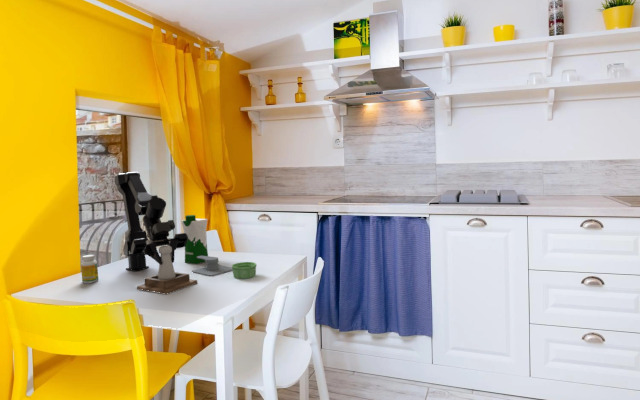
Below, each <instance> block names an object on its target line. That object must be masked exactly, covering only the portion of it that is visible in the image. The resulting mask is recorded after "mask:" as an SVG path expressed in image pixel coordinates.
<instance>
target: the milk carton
mask: <svg viewBox="0 0 640 400" xmlns="http://www.w3.org/2000/svg"><path fill="white" fill-rule="evenodd" d="M180 222H181V226H182V229H183V233H186V234H187V235H188V240H187V243H186V245H185V247H184V263H187V264H192V265H198V264H202V263H205V260H203V259H199V258H196V257H198V256H209V253H208V242H207V224H208V218H196V214H189V215H185V219H182V220H181V221H180Z"/></svg>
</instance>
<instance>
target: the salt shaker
mask: <svg viewBox="0 0 640 400" xmlns="http://www.w3.org/2000/svg"><path fill="white" fill-rule="evenodd" d="M171 252H172V247H171V246H167V245H164V246H159V247H158V253H159V256H160V258H161V261H162V265H160V264H159V263H158V264H159V265H158V272H157V274H158V279H160V280H169V279H172V278H175V276H176V275H175V272H176V271H175V268H174V267H175V266H174V263H172V260H171V255H170V253H171Z"/></svg>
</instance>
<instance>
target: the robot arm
mask: <svg viewBox="0 0 640 400" xmlns="http://www.w3.org/2000/svg"><path fill="white" fill-rule="evenodd" d="M114 184H115V186H116V189H117V191H118V192H119V193H120V194H121V196H122V199H123V204H124V210H125V217H126V222H127V229H128V232H127V233H126V236H125V242H124V246H123V249H122V250H123V255H124V256H126V257H128V258H127V260H128V267H126V268H125V270H126V271H133V272H139V271H142V270H146V269H148V268H150V266H149V265H147V259H146V256H149V257H150V258H151V259H153V260H154V261H155V262H156V263H157V264H160V265H162V261H161V258H160V256H161V255H160V253H159V250H158V249H157V247H161V246H171V247H172V252H171V253H170V255H171V260H172V264H174V263H175V251H176V250H177V249H181V248H185V245H186V243H187V240H188V235H187V234H186V233H184V232H180V233H175V234H174V236H173V237H172V238H168V237H169V236H170V233H169V232H171V231H174V230H175V229H176V224H175V221H174V220H173V219H169V220H167V221H163V222H162V221H161V218H163V216H164V213H165V210H166V207H167V202H166V201H165V199H163V198H161V197H159V196H158V195H157V194H155V195H151V194H150V193H148V192H147V189H146V187H145V185H144V183H143V181H142V179H141V175H140V172H138V171H130V172H129V171H128V172H126V173H123V172H122V173H118V174H117V175H116V176H114ZM140 216H143V217H142V222H143V223H142V224H143V226H144V228H145V230H144V229H143V228H142V227H141V221H140Z"/></svg>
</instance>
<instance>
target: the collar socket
mask: <svg viewBox="0 0 640 400" xmlns="http://www.w3.org/2000/svg"><path fill="white" fill-rule="evenodd" d="M175 275H176V276H175V278H172V279H169V280H160V279H158V273H157V274H155V275H151V276H148V277H145V278H144V280H143V281H144V284H140V285H137V286H136V289H137V290H138V289H143V290H142V291H144V290H149V291H148V292H150V291H155V292H154V293H156V292H160V293H159V294H162V293H165V294H164V295H168V294H167V293H169V294H171V293H173V291H174V292H177V291H178V290H179V289H180V290H182V289H184V288H189V287H190V286H194V285H195V284H198V280H196V279H190V274H189V273H184V272H178V271H177V272H176V271H175ZM176 290H177V291H176ZM170 292H171V293H170Z"/></svg>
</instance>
